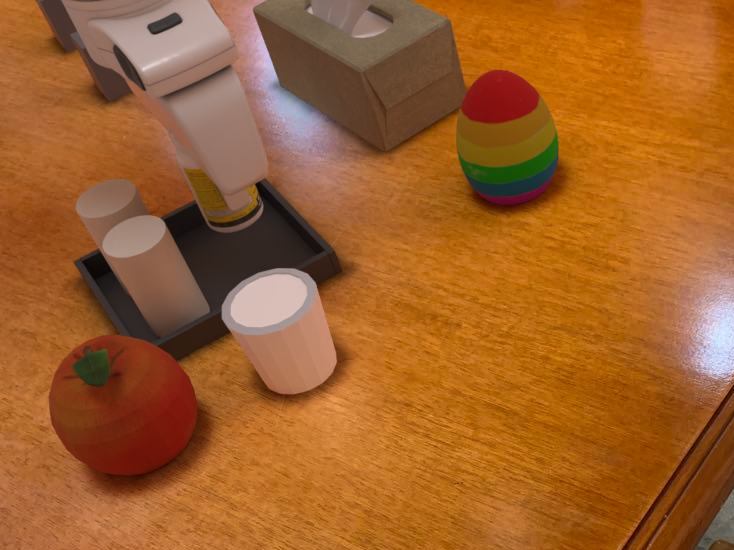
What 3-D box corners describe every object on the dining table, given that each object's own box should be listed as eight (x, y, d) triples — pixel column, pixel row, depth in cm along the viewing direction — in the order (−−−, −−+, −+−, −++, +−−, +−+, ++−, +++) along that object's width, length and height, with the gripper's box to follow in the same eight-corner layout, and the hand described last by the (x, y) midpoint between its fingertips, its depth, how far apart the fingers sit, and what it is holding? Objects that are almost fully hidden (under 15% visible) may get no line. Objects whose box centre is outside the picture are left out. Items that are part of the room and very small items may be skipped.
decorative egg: (491, 230, 83) (465, 118, 75) (453, 181, 88) (425, 70, 80) (580, 192, 84) (565, 78, 76) (538, 145, 89) (519, 33, 81)
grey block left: (69, 56, 112) (40, 1, 107) (58, 43, 114) (29, -12, 109) (103, 40, 113) (75, -15, 108) (91, 28, 115) (64, -27, 110)
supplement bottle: (275, 213, 82) (234, 116, 75) (225, 243, 80) (179, 147, 74) (246, 189, 84) (204, 94, 77) (197, 218, 83) (150, 123, 76)
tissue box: (472, 105, 94) (432, -78, 82) (387, 157, 91) (333, -24, 79) (359, 43, 104) (307, -129, 92) (279, 88, 101) (215, -84, 89)
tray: (150, 381, 79) (135, 357, 76) (88, 285, 87) (72, 261, 85) (344, 276, 83) (334, 250, 80) (267, 194, 91) (256, 168, 89)
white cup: (239, 377, 77) (201, 306, 72) (310, 326, 80) (279, 253, 74) (292, 419, 74) (256, 348, 68) (365, 364, 76) (336, 291, 70)
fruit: (194, 378, 78) (133, 274, 70) (232, 457, 73) (170, 354, 65) (75, 434, 76) (-2, 334, 68) (104, 519, 71) (24, 421, 63)
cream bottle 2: (164, 348, 80) (114, 266, 73) (142, 317, 82) (93, 235, 76) (219, 318, 81) (175, 235, 74) (196, 289, 83) (152, 206, 77)
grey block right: (111, 105, 104) (81, 48, 99) (99, 90, 106) (69, 34, 102) (147, 89, 105) (119, 31, 100) (134, 74, 107) (106, 17, 103)
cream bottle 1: (136, 307, 83) (86, 226, 77) (116, 279, 86) (67, 198, 79) (189, 279, 84) (144, 197, 78) (168, 252, 87) (123, 170, 81)
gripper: (52, -20, 74) (140, 149, 85) (151, 87, 63) (237, 267, 74) (132, -55, 76) (208, 117, 87) (242, 44, 64) (314, 226, 75)
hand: (222, 187), depth 80 cm, fingers closed on supplement bottle, 5 cm apart
